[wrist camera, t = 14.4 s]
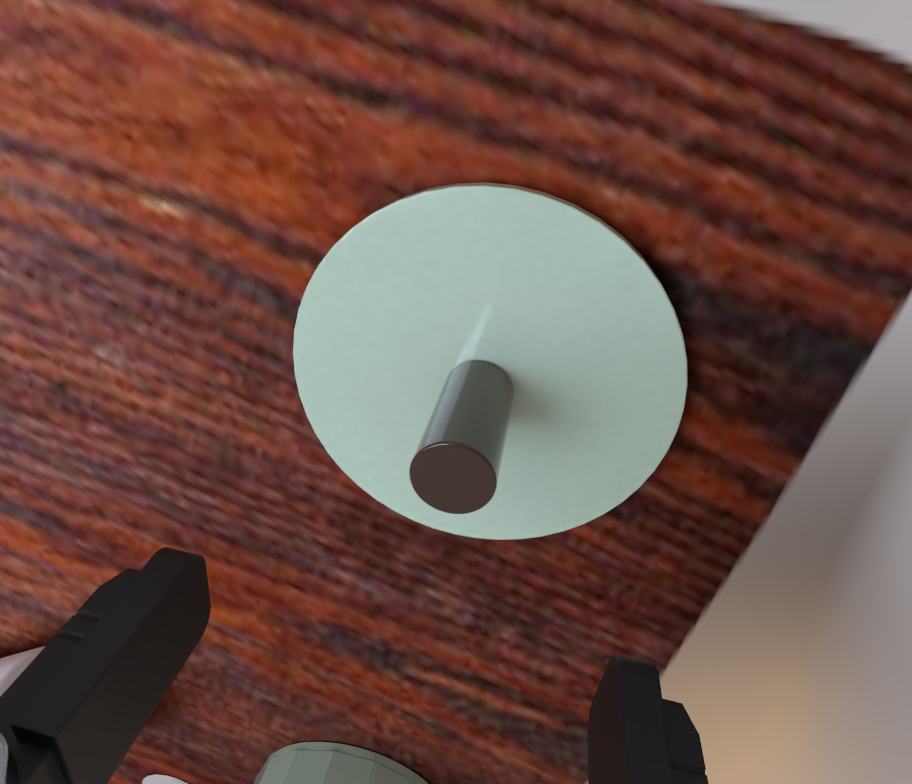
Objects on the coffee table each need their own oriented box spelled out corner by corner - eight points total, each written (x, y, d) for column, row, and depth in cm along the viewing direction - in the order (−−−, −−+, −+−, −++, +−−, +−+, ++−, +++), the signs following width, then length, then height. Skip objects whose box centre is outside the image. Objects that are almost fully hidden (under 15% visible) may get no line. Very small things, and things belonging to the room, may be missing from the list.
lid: (745, 219, 17) (820, 290, 12) (620, 551, 24) (633, 691, 18) (305, 145, 18) (193, 178, 13) (306, 480, 25) (232, 593, 20)
